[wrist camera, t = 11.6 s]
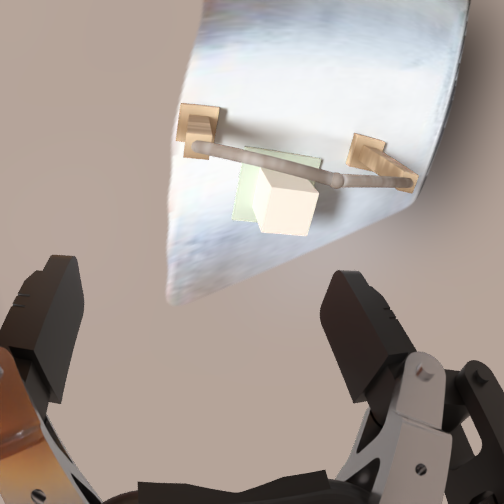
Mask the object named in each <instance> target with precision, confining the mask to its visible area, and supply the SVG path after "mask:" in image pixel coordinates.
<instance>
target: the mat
mask: <svg viewBox="0 0 504 504" xmlns="http://www.w3.org/2000/svg"><path fill="white" fill-rule="evenodd" d="M244 150H248V151H252V152H256V153H260V154H265V155H269V156H273V157H277V158H281V159H285V160H289V161H292V162H296V163H300V164H304V165H307V166H311V167H315V168H318V169H319V167H320V163H321V159H320V158H315V157H310V156H304V155H298V154H292V153H286V152H280V151H274V150H267V149H261V148H254V147H246V146H245V148H244ZM259 170H260V167H258V166H254V165H249V164H245V163H242V164H241V169H240V174H239V180H238V185H237V191H236V196H235V202H234V207H233V213H232V220H237V221H248V222H258V221H257V219H256V216H255V213H254V211H253V208H252V205H253V200H254V195H255V190H256V185H257V180H258V175H259ZM308 181H309V182H310V183H311V184H312V185H313V186H314V185H315V181H311V180H308Z"/></svg>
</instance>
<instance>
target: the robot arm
mask: <svg viewBox="0 0 504 504" xmlns="http://www.w3.org/2000/svg"><path fill="white" fill-rule="evenodd" d="M83 312H84V295H83V290H82V285H81V279H80V273H79V267H78V262H77V259H76V257H75V256H65V255H52V256H50V258H49V260H48V262H47V264H46V265H45V267H44V269H43V271H35V272H34V273H33V274H32V275H31V276H29V277H28V278H27V279H26V280H25V281H24V283H23V285H22V287H21V289H20V291H19V292H18V296H16V298H15V300H14V302H13V306H12V307H11V308H10V310H9V312H8V314H7V316H6V319H5V321H4V323H3V325H2V327H1V329H0V494H1V496H2V498H3V500H4V502H5V504H442V501H443V496H444V492H445V495H446V498H447V501H448V504H504V392H503V390H502V388H501V387H500V385H499V383H498V381H497V380H496V378H495V376H494V374H493V373H492V371H491V370H490V369H489V368H488V367H487V366H486V365H485V364H483V363H482V362H479V361H476V360H472V361H469V362H468V363H467V364H466V365H465V366H464V367H463V368H462V370H461V371H454V370H446V369H444V368H443V366H442V365H441V363H440V362H439V361H438V360H437V359H436V358H434V357H433V356H431V355H430V354H427V353H425V352H417V351H416V349H415V347H414V346H413V344H412V343H411V341H410V339H409V337H408V336H407V334H406V332H405V331H404V329H403V327H402V326H401V324H400V323H399V321H398V319H396V316H395V315H394V313H393V312H392V310H390V307H389V305H388V303H387V302H386V300H385V299H384V297H383V296H382V295H381V294H380V293H378V292H377V291H376V290H375V289H374V288H373V287H371V286H369V285H368V283H367V282H366V280H365V279H364V277H363V275H362V274H361V273H360V272H359V271H340V270H338V271H336V272H335V273H334V274H333V277H332V279H331V282H330V285H329V287H328V289H327V293H326V295H325V297H324V300H323V302H322V305H321V308H320V320H321V324H322V327H323V329H324V332H325V334H326V336H327V339H328V341H329V344H330V346H331V348H332V351H333V353H334V356H335V358H336V361H337V363H338V365H339V368H340V370H341V373H342V375H343V378H344V380H345V383H346V385H347V388H348V390H349V393H350V395H351V398H352V400H353V403H358V402H364V401H367V402H368V404H369V407H368V408H367V410H366V412H365V414H364V417H363V420H362V423H361V426H360V429H359V432H358V435H357V437H356V440H355V443H354V445H353V448H352V451H351V453H350V456H349V458H348V460H347V462H346V463H345V465H344V466H343V467H342V469H341V470H340V472H339V473H338V475H337V477H336V478H335V480H333V479H328V478H327V474H326V471H325V470H322V471H316V472H311V473H306V474H299V475H293V476H287V477H282V478H279V479H277V480H274V481H272V482H269V483H266V484H264V485H261V486H258V487H255V488H252V489H249V490H246V491H243V492H239V493H232V492H226V491H220V490H215V489H209V488H204V487H199V486H194V485H190V484H177V483H176V484H175V483H151V482H138V490H137V491H131V492H127V493H124V494H120V495H118V496H115V497H112V498H110V499H108V500H107V501H105V502H103V501H102V500H101V498H100V497H99V496H98V494H97V493H96V492H95V490H94V489H93V488H92V486H91V485H90V484H89V482H88V481H87V479H86V478H85V477H84V476H83V474H82V473H81V472H80V470H79V469H78V467H77V466H76V464H75V463H74V461H73V460H72V458H71V457H70V455H69V453H68V452H67V450H66V448H65V446H64V445H63V443H62V441H61V439H60V438H59V436H58V434H57V432H56V430H55V429H54V427H53V425H52V423H51V421H50V419H49V417H48V415H47V414H46V412H47V407H48V402H52V403H58V404H61V401H62V396H63V391H64V387H65V382H66V378H67V373H68V369H69V365H70V361H71V357H72V352H73V349H74V345H75V341H76V338H77V334H78V331H79V327H80V324H81V320H82V317H83ZM469 416H471V418H472V420H473V422H474V424H475V427H476V429H477V431H478V433H479V435H480V438H481V440H482V449H481V451H480V453H479V454H478V455H477V456H475V455H474V454H473V451H472V449H471V447H470V444H469V442H468V440H467V438H466V435H465V433H464V431H463V428H462V426H461V423H462V422H463V421H464V420H465V419H466V418H467V417H469Z"/></svg>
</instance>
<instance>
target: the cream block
mask: <svg viewBox="0 0 504 504" xmlns="http://www.w3.org/2000/svg"><path fill="white" fill-rule="evenodd" d="M318 196H319V192H318V191H317V190H316V189H315V188H314V186H313V185H312V184H311V183H310V182H309V181H308V179H304V178H300V177H297V176H293V175H289V174H285V173H282V172H278V171H274V170H270V169H266V168H262V167H260V170H259V175H258V180H257V185H256V190H255V195H254V200H253V205H252V208H253V211H254V213H255V216H256V219H257V221H258V224H259V227H260V230H261V232H263V233H275V234H287V235H299V236H307V234H308V231H309V227H310V224H311V220H312V217H313V214H314V210H315V207H316V203H317V200H318Z"/></svg>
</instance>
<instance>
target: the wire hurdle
mask: <svg viewBox="0 0 504 504" xmlns="http://www.w3.org/2000/svg"><path fill="white" fill-rule="evenodd" d="M219 109H220V108H219V107H214V106H206V105H196V104H186V103H181V105H180V113H179V120H178V128H177V136H176V141H181V142H185V148H184V156H183V157H184V158H195V159H206V160H209V155H210V156H214V157H219V158H223V159H228V160H232V161H237V162H241V163H245V164H249V165H254V166H258V167H262V168H266V169H270V170H274V171H278V172H282V173H285V174H289V175H293V176H297V177H300V178H304V179H308V180H311V181H315V182H318V183H322V184H325V185H329V186H331V187H332V188H334V189H338V188H341V187H388V188H395V189H397V190H399V191H403V192H408V193H413V190H414V188H415V185H416V182H417V179H418V177H419V175H417V174H416V173H414V172H413V171H411V170H410V169H408V168H407V167H405V166H404V165H402V164H401V163H399V162H398V161H396V160H395V159H393V158H391V157H390V156H388V155H387V154H385V153H383V149H384V146H385V142H383V141H382V140H378V139H375V138H371V137H368V136H364V135H360V134H357V133H354V136H353V140H352V143H351V147H350V150H349V154H348V157H347V161H346V164H347V165H348V166H350V167H355V168H360V169H364V170H369V171H373V172H375V173H376V174H378V175H379V176H373V175H352V174H340V173H332V172H329V171H325V170H322V169H318V168H315V167H311V166H307V165H304V164H300V163H296V162H292V161H289V160H285V159H281V158H277V157H273V156H269V155H265V154H260V153H256V152H252V151H248V150H243V149H239V148H234V147H230V146H225V145H220V144H215V143H214V139H215V133H216V127H217V121H218V115H219Z"/></svg>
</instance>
